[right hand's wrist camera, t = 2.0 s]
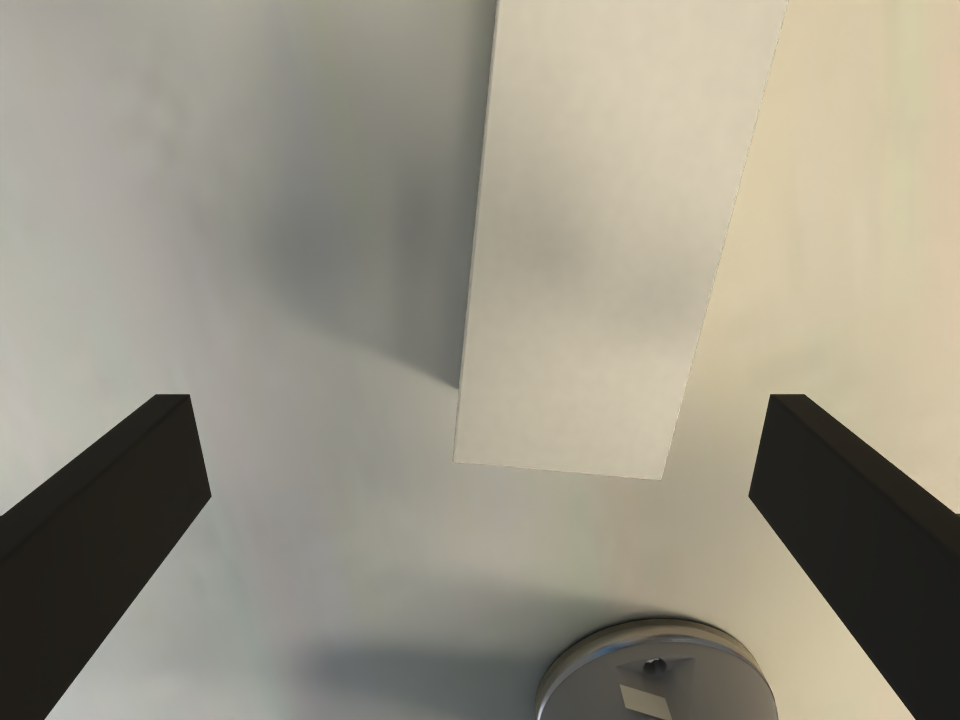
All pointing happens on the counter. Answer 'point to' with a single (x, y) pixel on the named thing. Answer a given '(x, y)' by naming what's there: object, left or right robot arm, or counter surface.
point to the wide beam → (602, 223)
